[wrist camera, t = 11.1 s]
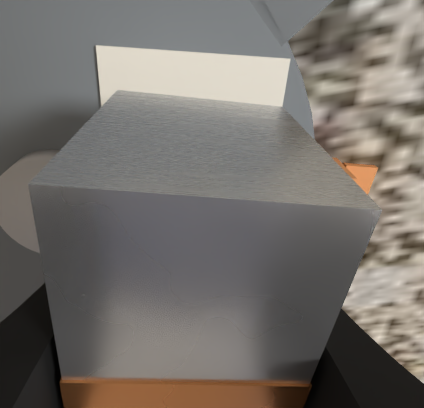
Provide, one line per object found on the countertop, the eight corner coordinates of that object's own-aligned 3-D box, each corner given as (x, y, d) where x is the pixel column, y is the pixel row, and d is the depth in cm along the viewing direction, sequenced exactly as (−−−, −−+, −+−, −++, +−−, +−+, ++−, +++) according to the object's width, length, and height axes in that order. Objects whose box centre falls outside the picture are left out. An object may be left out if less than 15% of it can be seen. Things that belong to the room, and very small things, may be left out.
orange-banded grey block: (236, 328, 12) (260, 505, 8) (122, 324, 12) (81, 509, 7) (283, 106, 8) (386, 212, 4) (116, 89, 8) (24, 185, 4)
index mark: (357, 212, 16) (360, 215, 16) (328, 210, 16) (331, 214, 15) (374, 165, 15) (377, 167, 14) (343, 162, 15) (346, 165, 14)
